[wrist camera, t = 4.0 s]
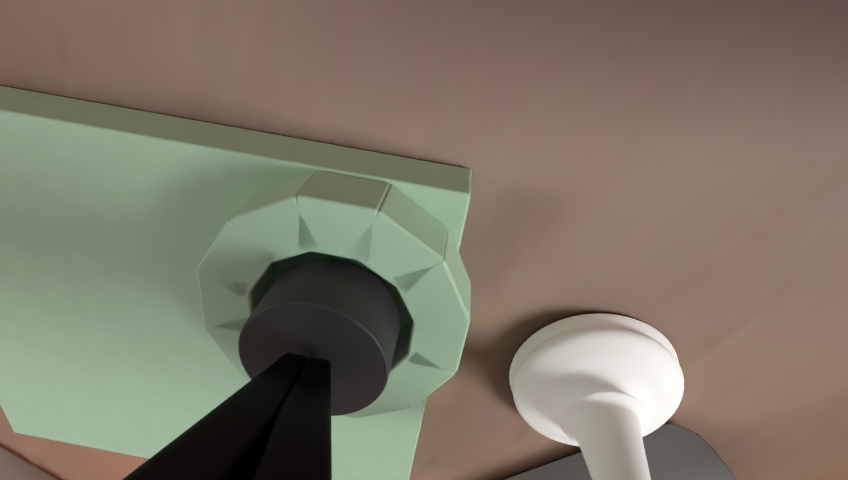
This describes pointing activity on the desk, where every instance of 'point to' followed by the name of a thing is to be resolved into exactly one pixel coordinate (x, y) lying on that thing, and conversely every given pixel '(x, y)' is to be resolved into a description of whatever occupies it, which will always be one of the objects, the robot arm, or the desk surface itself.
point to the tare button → (327, 328)
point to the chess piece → (598, 389)
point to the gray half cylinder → (650, 459)
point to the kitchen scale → (204, 270)
